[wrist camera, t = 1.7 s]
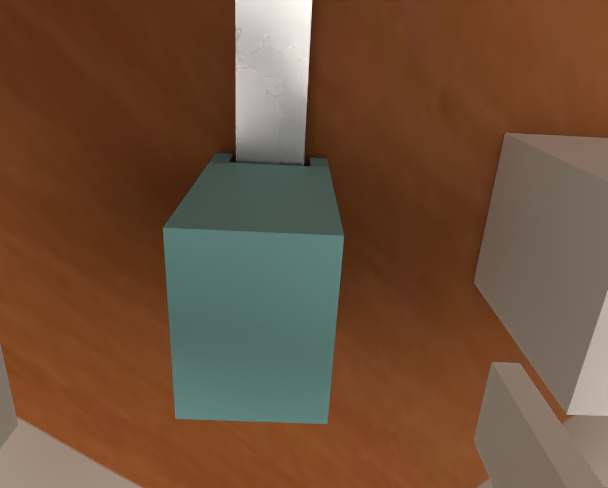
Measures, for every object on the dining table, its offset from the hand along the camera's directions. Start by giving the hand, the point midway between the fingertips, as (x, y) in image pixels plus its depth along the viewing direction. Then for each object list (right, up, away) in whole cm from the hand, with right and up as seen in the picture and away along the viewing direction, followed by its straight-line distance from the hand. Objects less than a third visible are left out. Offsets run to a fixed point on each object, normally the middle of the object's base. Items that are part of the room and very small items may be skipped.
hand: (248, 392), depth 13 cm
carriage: (0, +5, +12) cm, 13 cm away
